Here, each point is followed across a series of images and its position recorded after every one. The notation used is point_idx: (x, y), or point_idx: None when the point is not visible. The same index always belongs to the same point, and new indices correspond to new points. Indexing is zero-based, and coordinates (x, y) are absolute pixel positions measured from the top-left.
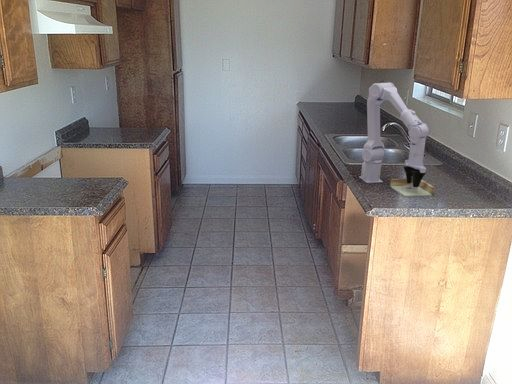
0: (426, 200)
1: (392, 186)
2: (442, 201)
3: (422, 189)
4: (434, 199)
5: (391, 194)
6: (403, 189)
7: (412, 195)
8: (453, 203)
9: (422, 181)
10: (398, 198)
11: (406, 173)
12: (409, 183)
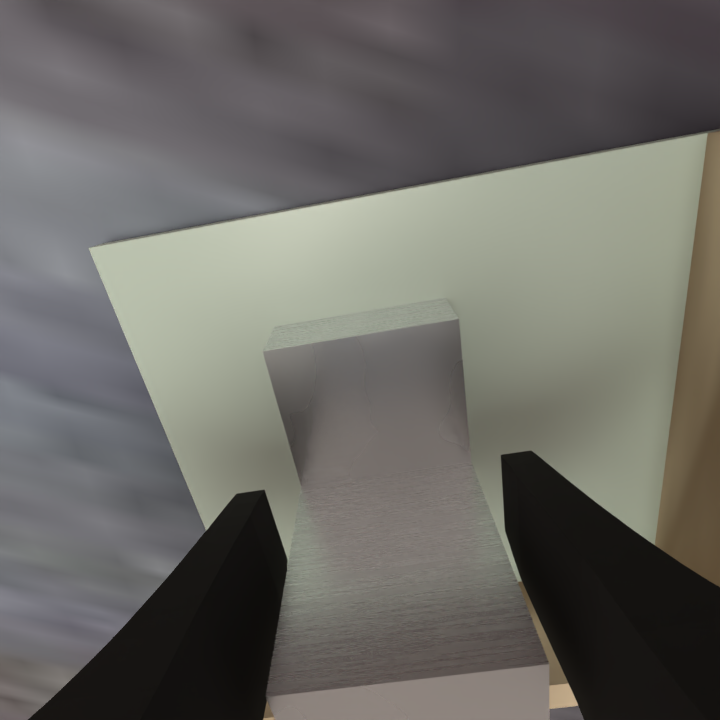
0: (55, 505)
1: (684, 163)
2: (75, 637)
3: None
4: (128, 590)
5: (251, 17)
6: (390, 314)
7: (148, 385)
8: (41, 696)
9: (549, 686)
10: (10, 104)
11: (685, 631)
12: (686, 496)
